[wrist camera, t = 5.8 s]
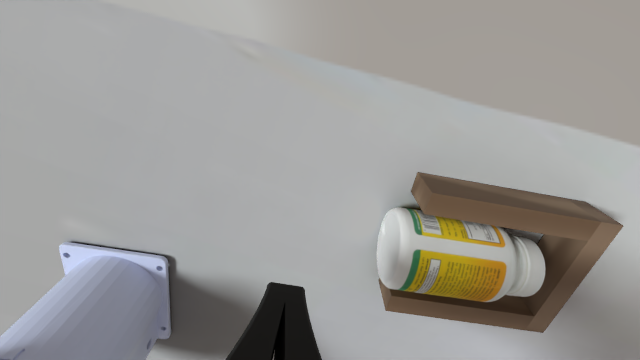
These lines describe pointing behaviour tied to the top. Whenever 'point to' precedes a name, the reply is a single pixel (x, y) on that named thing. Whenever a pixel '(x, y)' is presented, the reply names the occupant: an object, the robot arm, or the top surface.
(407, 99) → the top surface
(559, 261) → the u rest
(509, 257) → the supplement bottle
